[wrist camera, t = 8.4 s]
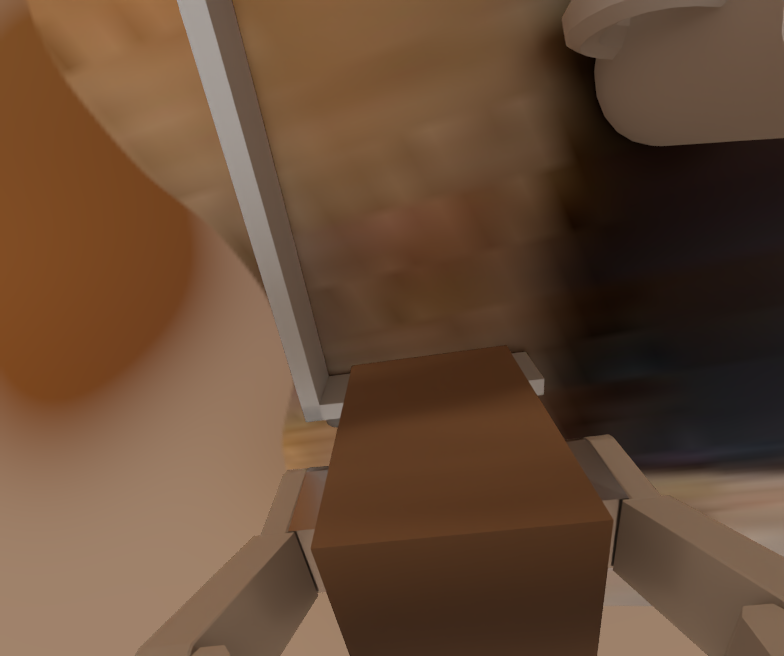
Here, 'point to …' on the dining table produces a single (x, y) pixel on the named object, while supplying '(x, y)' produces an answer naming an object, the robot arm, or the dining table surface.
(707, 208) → the dining table surface
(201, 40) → the cart frame
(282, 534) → the robot arm
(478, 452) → the walnut block
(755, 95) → the cup
